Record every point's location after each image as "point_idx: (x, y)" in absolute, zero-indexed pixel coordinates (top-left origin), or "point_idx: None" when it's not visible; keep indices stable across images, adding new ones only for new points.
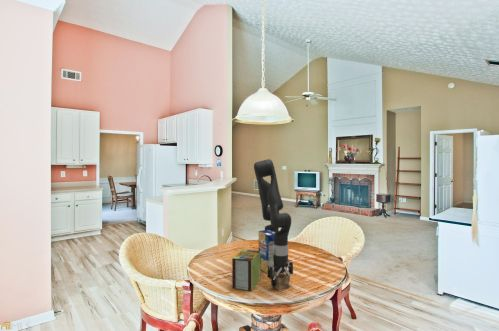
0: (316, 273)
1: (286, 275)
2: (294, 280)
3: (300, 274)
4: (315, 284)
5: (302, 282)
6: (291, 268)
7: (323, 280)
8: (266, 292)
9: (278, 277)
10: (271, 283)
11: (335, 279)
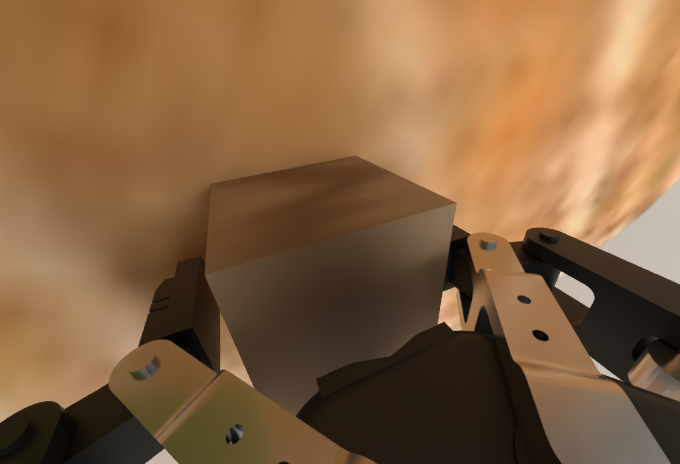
0: (675, 84)
1: (431, 323)
2: (493, 136)
3: (621, 27)
4: None
5: (505, 196)
6: (597, 352)
7: (595, 207)
8: (71, 323)
9: (285, 388)
10: (157, 306)
11: (629, 212)
